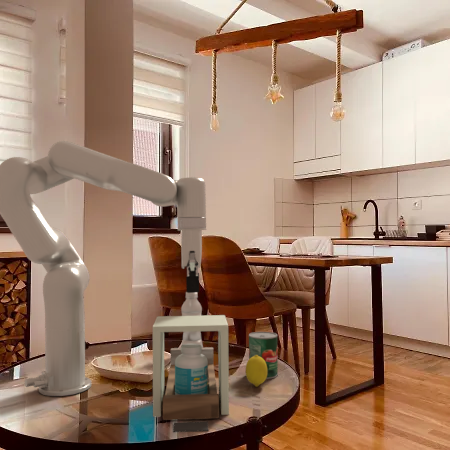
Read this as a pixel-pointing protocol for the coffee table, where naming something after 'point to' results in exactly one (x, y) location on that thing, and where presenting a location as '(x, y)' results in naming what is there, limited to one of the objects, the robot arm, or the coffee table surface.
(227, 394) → the tunnel
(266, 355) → the canned tomato
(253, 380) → the lemon
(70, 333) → the robot arm
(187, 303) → the plastic bottle
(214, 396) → the wooden compartment tray
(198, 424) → the mat
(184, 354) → the pill bottle
